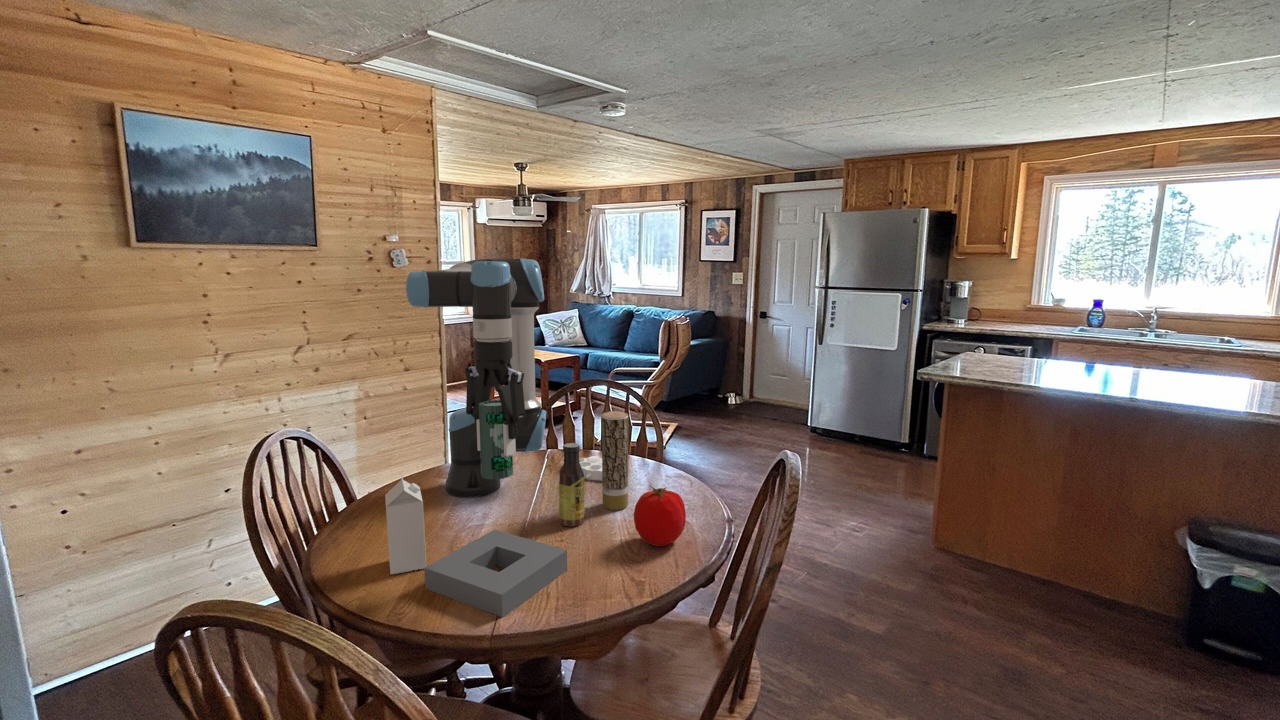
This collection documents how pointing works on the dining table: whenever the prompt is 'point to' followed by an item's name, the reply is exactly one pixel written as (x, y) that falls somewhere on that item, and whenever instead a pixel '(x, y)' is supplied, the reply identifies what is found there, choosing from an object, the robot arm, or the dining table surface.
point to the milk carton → (405, 528)
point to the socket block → (490, 590)
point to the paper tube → (615, 460)
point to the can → (493, 442)
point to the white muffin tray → (591, 468)
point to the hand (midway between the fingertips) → (496, 451)
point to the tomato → (660, 516)
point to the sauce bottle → (571, 487)
